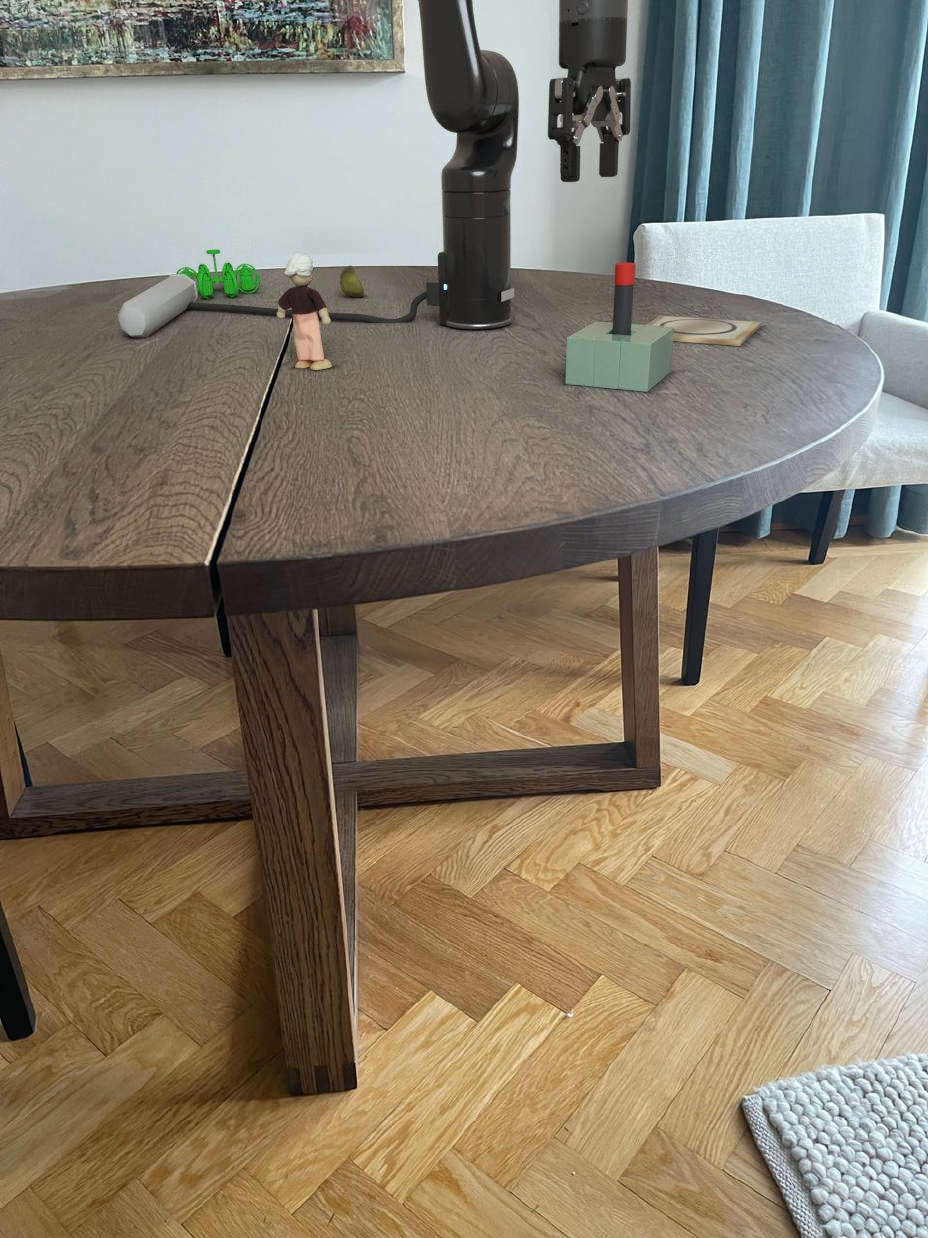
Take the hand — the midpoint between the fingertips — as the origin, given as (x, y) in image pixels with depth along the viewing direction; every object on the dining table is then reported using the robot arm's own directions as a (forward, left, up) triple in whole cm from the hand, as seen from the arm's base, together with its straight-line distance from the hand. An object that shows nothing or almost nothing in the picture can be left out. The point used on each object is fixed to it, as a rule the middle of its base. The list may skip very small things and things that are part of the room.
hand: (589, 179), depth 110 cm
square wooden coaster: (+12, +11, -19) cm, 25 cm away
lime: (-47, +19, -19) cm, 54 cm away
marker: (+10, -16, -19) cm, 27 cm away
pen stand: (+10, -16, -19) cm, 27 cm away
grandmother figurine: (-26, -24, -19) cm, 40 cm away
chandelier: (-72, +15, -19) cm, 76 cm away
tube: (-63, -9, -19) cm, 67 cm away
